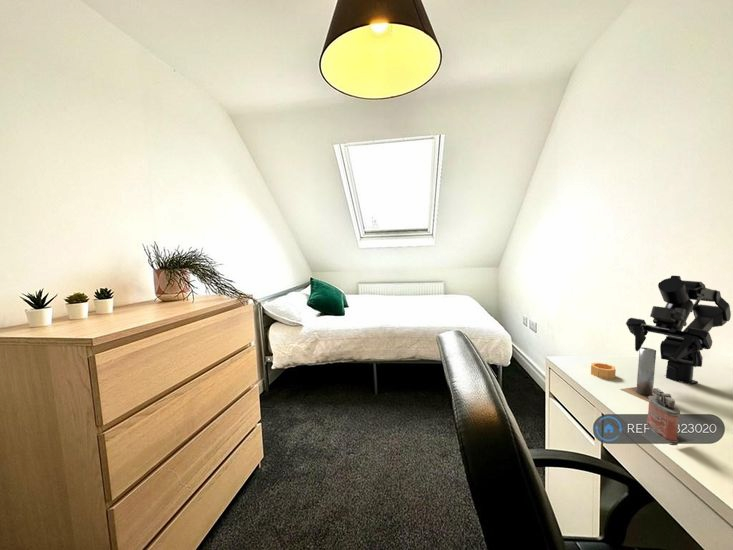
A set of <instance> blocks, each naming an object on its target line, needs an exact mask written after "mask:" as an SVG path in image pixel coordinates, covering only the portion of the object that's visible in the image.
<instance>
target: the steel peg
mask: <svg viewBox="0 0 733 550" xmlns="http://www.w3.org/2000/svg"><path fill="white" fill-rule="evenodd" d="M638 351H639V353H638V364H637V375H636V376H637V377H636V378H637V379H636V387H637V388H636V393H638V394H640V395H643V396H653V388H654V385H655V384H654V382H655V370H656V369H655V368H656V358H657V357H656V356H657V350H656V349H654V348H649V347H641V348H640V349H639V350H638Z"/></svg>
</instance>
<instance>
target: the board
mask: <svg viewBox="0 0 733 550" xmlns="http://www.w3.org/2000/svg"><path fill="white" fill-rule="evenodd" d="M636 388H637V386H634V387H626V388H620V389H619V390H620V391H623V392H625V393H627V394H628V395H631V396H634V397H637V398H638V399H640V400H643V401H645V402H647V403H649V400H648V396H643V395H640V394H638V393H636ZM653 396H656V395H655V394H653Z"/></svg>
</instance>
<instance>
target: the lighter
mask: <svg viewBox="0 0 733 550" xmlns="http://www.w3.org/2000/svg"><path fill="white" fill-rule="evenodd" d="M653 394H655V395H656V396H648V400H649V402H648V411H647V422H646V425H647V427H648V428H649V429H650V430H651V431H652V432H653V433H655V434H656V435H657V436H659V437H660V438H662V439H663V440H665V441H668V442H671V443H668V445H670V446H678V443H679V439H678V431H679V430H678V429H679V421H680V420H679V418H680V416H681V410H680V409H679V408H678V407H677V406H675V404H676V400H675V398H673V397H672V395H671V394H670V393H666V392H664V391H663V390H661V389H659V388H658V387H653Z"/></svg>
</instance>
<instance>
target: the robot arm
mask: <svg viewBox="0 0 733 550" xmlns="http://www.w3.org/2000/svg"><path fill="white" fill-rule="evenodd" d="M657 286H658V287H657V288H658V290H659V292H660V295H661V298H662V301H664V302H665V303H666V304H665V306H664V307H663V306H658V305H657V306H655V305H653V306H652V308H651V312H650V315H649V317H650V318H652V319H653V320H652V322H653V324H655V325H651V324H647V323H646V321H645V319H641V318H635V317H629V318H628V319H627V320H626V322H625V325H626V326H627V329H628V331H629V332H630V333H631V334H632V335H633V337H634V349H635V350H634V351H636V352H638V351H639V350H640V348H642V347H643V345H644V342H645V341H646V340H647V337H646V336H647V335H648V333H655V334H660V335H664V336H665V339H664V340H662V341H661V343H660V344H659V346H660V347H659V349H660V359H661V360H665V361H667V365H666V373H665V375H664V376H665V378H666V379H668V380H671V381H673V382H681V383H685V384H688V385H695V384H698V383H699V381H697V380H695V379H693V378H694V377H693V376H694V368H697V367H698V368H699V367H700V368H701V367H703V355H702V353H701V351H703V350H710V349H711V348H712V345H713V339H712V336H711V334H710V331H711V330H712V329H713V328H715V327H723V326H724V325H725V324H726V323H727V322H730V320H731V317H732V316H731V314H732V311H731V306H730V303H728V302H727V301H726V299H724V298H723V297H722V295H721V291H720V290H717V289H712V288H707V287H706V284H704V283H703V282H702V281H697V280H696V281H695V280H682V278H681V275H670V277H669V278H665V279H663V280H661V281H660V282H659V283H658V284H657ZM692 300H693V301H695V302H693V301H692ZM701 301H702V302H712V303H714V304H715V305H710V304H708V305H707V304H699V303H700V302H701ZM691 313H693V317H694V319H693V320H692V321H691V322H690V323H689V324H688V323H687V320H688V318H689V317H690V316H689V315H690V314H691ZM684 327H685V328H684ZM683 328H684V329H683Z"/></svg>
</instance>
